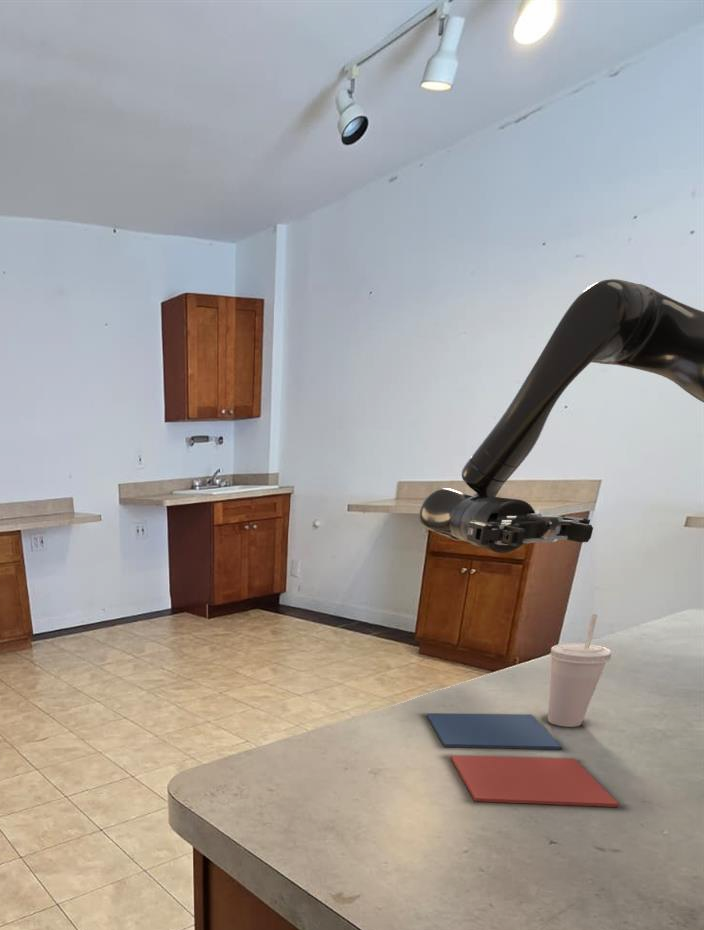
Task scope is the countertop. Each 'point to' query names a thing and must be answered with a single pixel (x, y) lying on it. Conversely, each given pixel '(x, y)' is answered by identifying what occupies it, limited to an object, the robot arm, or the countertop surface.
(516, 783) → the red mat
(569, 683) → the smoothie
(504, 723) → the blue mat
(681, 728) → the countertop surface
